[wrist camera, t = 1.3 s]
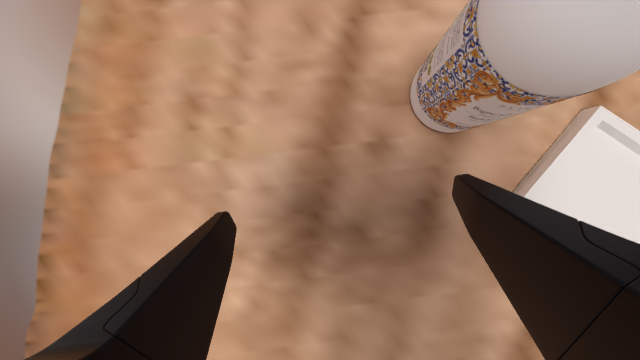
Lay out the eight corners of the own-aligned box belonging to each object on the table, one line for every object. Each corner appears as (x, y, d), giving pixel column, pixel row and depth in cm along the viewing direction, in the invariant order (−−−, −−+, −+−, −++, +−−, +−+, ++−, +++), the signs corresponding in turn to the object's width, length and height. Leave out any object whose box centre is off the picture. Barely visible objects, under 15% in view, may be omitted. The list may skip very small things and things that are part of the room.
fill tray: (704, 192, 20) (735, 194, 18) (603, 298, 21) (624, 309, 19) (581, 110, 20) (601, 105, 19) (490, 218, 22) (501, 222, 20)
